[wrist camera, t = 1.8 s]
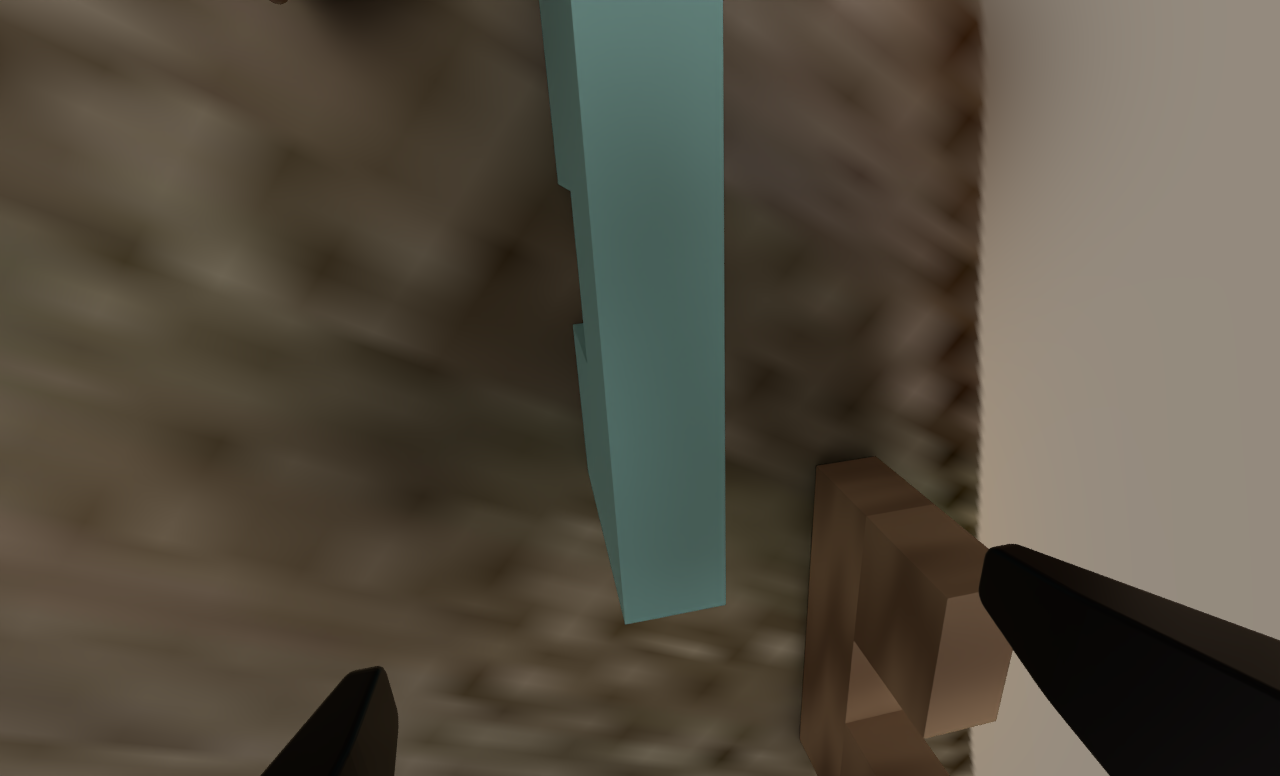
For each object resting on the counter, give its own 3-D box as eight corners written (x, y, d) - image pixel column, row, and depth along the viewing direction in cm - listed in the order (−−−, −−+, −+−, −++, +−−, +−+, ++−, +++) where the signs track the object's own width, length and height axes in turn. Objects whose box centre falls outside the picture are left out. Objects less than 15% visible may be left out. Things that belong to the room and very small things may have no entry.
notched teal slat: (656, 460, 17) (725, 604, 12) (588, 471, 17) (625, 624, 11) (630, -37, 13) (722, -188, 7) (535, -36, 12) (553, -194, 7)
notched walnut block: (847, 727, 23) (952, 906, 18) (799, 739, 23) (891, 925, 17) (875, 456, 18) (1029, 581, 13) (816, 465, 18) (947, 598, 13)
